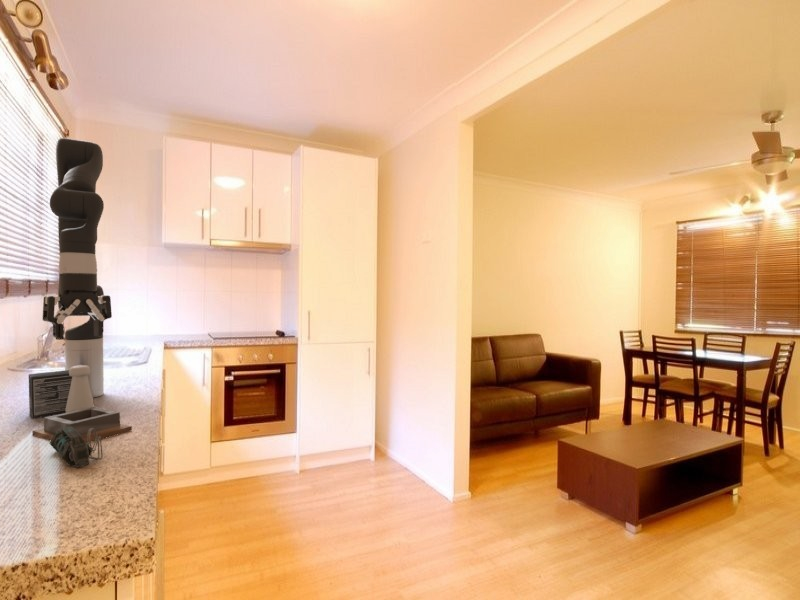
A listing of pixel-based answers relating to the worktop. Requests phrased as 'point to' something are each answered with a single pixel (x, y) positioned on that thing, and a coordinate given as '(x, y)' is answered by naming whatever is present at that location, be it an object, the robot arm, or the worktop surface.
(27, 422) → the worktop surface
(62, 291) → the robot arm
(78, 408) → the salt shaker
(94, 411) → the socket board
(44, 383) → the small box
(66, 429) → the stun grenade
